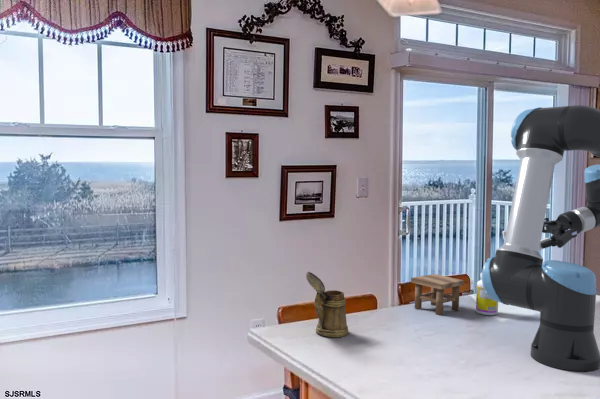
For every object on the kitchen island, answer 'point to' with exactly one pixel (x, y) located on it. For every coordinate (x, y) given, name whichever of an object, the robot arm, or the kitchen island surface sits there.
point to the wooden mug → (329, 309)
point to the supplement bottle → (485, 301)
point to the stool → (437, 291)
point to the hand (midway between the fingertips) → (516, 241)
